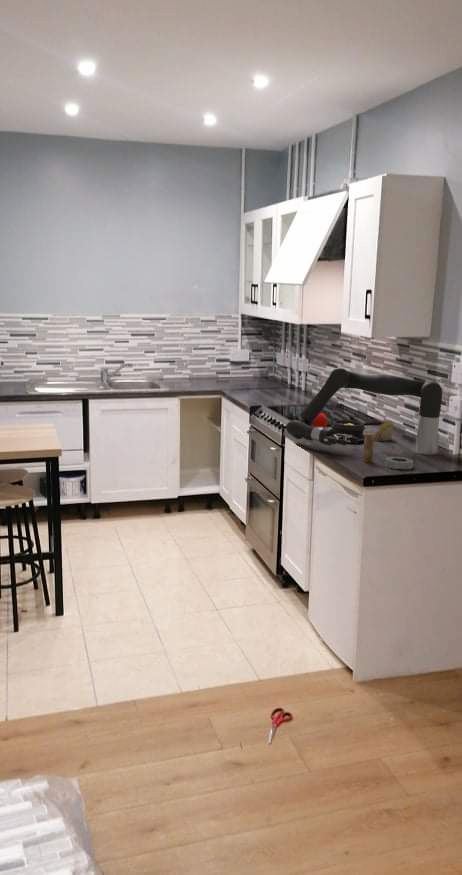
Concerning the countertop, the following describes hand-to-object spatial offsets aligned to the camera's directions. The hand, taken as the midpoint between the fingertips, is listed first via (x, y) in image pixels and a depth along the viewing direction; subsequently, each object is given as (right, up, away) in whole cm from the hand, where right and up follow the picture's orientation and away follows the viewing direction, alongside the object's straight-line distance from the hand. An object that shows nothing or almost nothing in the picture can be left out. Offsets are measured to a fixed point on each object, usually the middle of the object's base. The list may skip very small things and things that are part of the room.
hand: (352, 441), depth 330 cm
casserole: (+4, +1, +41) cm, 41 cm away
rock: (+22, +1, +43) cm, 48 cm away
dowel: (+6, -8, -5) cm, 11 cm away
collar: (+18, -10, -13) cm, 24 cm away
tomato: (-9, +6, +62) cm, 63 cm away
